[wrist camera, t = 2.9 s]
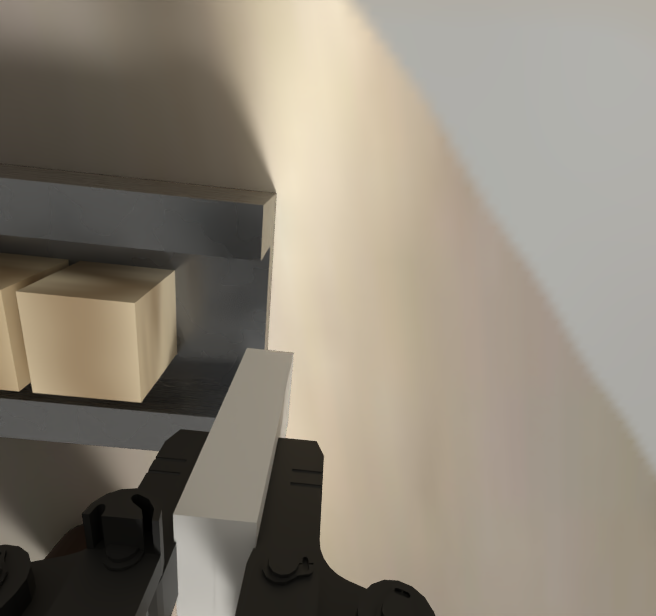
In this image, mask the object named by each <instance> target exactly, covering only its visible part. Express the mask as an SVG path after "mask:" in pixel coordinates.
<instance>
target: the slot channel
mask: <svg viewBox="0 0 656 616" xmlns="http://www.w3.org/2000/svg"><path fill="white" fill-rule="evenodd" d="M276 194H277V193H269V192H260V191H251V190H241V189H232V188H222V187H213V186H204V185H194V184H185V183H175V182H166V181H157V180H147V179H138V178H128V177H119V176H110V175H100V174H91V173H81V172H72V171H63V170H53V169H44V168H34V167H25V166H16V165H6V164H0V253H8V254H18V255H28V256H38V257H48V258H58V259H68V260H69V266H70V265H72V264H75V263H77V262H79V261H88V262H98V263H108V264H117V265H127V266H137V267H147V268H157V269H167V270H175V292H176V328H177V354H176V356H175V357H174V359H173V360H172V361H171V363H170V364H169V365H168V367H167V368H166V369H165V371H164V372H163V374H162V375H161V376H160V378H159V379H158V380H157V382H156V383H155V384H154V386H153V387H152V389H151V390H150V391H149V393H148V394H147V395H146V397H145V398H144V399H143V401H142V402H141V403H139V402H128V401H118V400H107V399H96V398H85V397H74V396H63V395H53V394H42V393H33V391H32V385H31V382H30V383H29V384H28V385H27V386H25V387H24V388H23V389H22V390H20V391H9V390H0V437H7V438H18V439H29V440H40V441H51V442H63V443H74V444H85V445H96V446H107V447H119V448H130V449H141V450H152V451H160V449H161V447H162V446H163V444H164V442H165V441H166V440H167V439H169V438H170V437H171V436H172V435H174V434H175V433H176V432H177V431H179V430H180V429H186V430H196V431H205V432H210V430H211V428H212V426H213V423H214V421H215V419H216V417H217V414H218V412H219V410H220V408H221V405H222V403H223V401H224V399H225V396H226V394H227V392H228V390H229V387H230V385H231V383H232V381H233V378H234V376H235V374H236V372H237V369H238V367H239V365H240V363H241V360H242V358H243V356H244V354H245V351H246V349H247V348H253V349H263V350H268V333H269V316H270V298H271V281H272V263H273V246H274V229H275V211H276Z"/></svg>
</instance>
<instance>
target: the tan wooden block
mask: <svg viewBox="0 0 656 616" xmlns="http://www.w3.org/2000/svg"><path fill="white" fill-rule="evenodd" d="M68 266H69V260H68V259H58V258H48V257H38V256H28V255H18V254H8V253H0V390H9V391H20V390H22V389H23V388H24V387H25V386H27V385H28V384H29V383H30V382H31V379H30V373H29V367H28V361H27V356H26V350H25V344H24V338H23V332H22V326H21V320H20V315H19V309H18V303H17V297H16V291H18V290H20V289H22V288H24V287H26V286H28V285H30V284H32V283H34V282H37V281H39V280H41V279H43V278H45V277H47V276H49V275H51V274H53V273H56V272H58V271H60V270H62V269H64V268H66V267H68Z"/></svg>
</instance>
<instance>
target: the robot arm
mask: <svg viewBox="0 0 656 616" xmlns="http://www.w3.org/2000/svg"><path fill="white" fill-rule="evenodd" d="M293 355H294V353H292V352H282V351H272V350H263V349H253V348H247V349H246V351H245V354H244V356H243V358H242V360H241V363H240V365H239V367H238V369H237V372H236V374H235V376H234V378H233V381H232V383H231V385H230V387H229V390H228V392H227V394H226V396H225V399H224V401H223V403H222V405H221V408H220V410H219V412H218V414H217V417H216V419H215V421H214V423H213V426H212V428H211V430H210V432H205V431H196V430H186V429H180V430H179V431H177V432H176V433H175V434H174V435H172V436H171V437H170V438H169V439H167V440H166V441H165V442H164V444H163V446H162V447H161V449H160V451H159V453H158V454H157V456H156V460H154V461H153V463H152V465H151V466H150V468H149V471H148V473H146V475H145V477H144V478H143V480H142V482H141V484H140V485H139V487H138V488H135V489H121V490H118V491H115V492H112V493H108V494H106V495H104V496H103V497H101V498H99V499H98V500H96V501H94V502H93V503H92V504H91V505H90V506H89V507H88V508H87V509H86V510H85V511H84V512H83V513H82V518H83V525H84V532H85V539H86V546H87V549H84V550H82V551H80V552H77V553H73V554H69V555H65V556H60V557H55V558H50V559H44V560H39V561H34V562H30V558H29V554H28V553H27V552H26V551H25V550H23V549H22V548H21V547H19V546H12V545H0V616H171V614H172V611H173V609H174V606H175V603H176V605H177V616H435V614H434V611H433V610H432V608H431V607H430V605H429V603H428V602H427V600H426V599H425V597H424V596H422V595H421V594H420V593H419V592H418V591H417V590H416V589H414V588H413V587H412V586H409V585H407V584H405V583H402V582H400V581H395V580H382V581H380V582H377V583H374V584H371V585H370V586H369V587H368V588H367V589H366V588H363V587H361V586H359V585H357V584H354V583H352V582H350V581H348V580H346V579H344V578H342V577H341V576H339V575H338V574H336V573H335V572H334V571H333V570H332V569H331V568H330V567H329V565H328V564H327V563H326V561H325V560H324V558H323V555H322V552H321V550H320V521H321V501H322V481H323V461H324V455H323V453H322V451H321V449H320V447H319V445H318V443H317V441H308V440H298V439H288V438H285V436H286V431H287V425H288V416H289V403H290V391H291V379H292V367H293Z"/></svg>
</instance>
